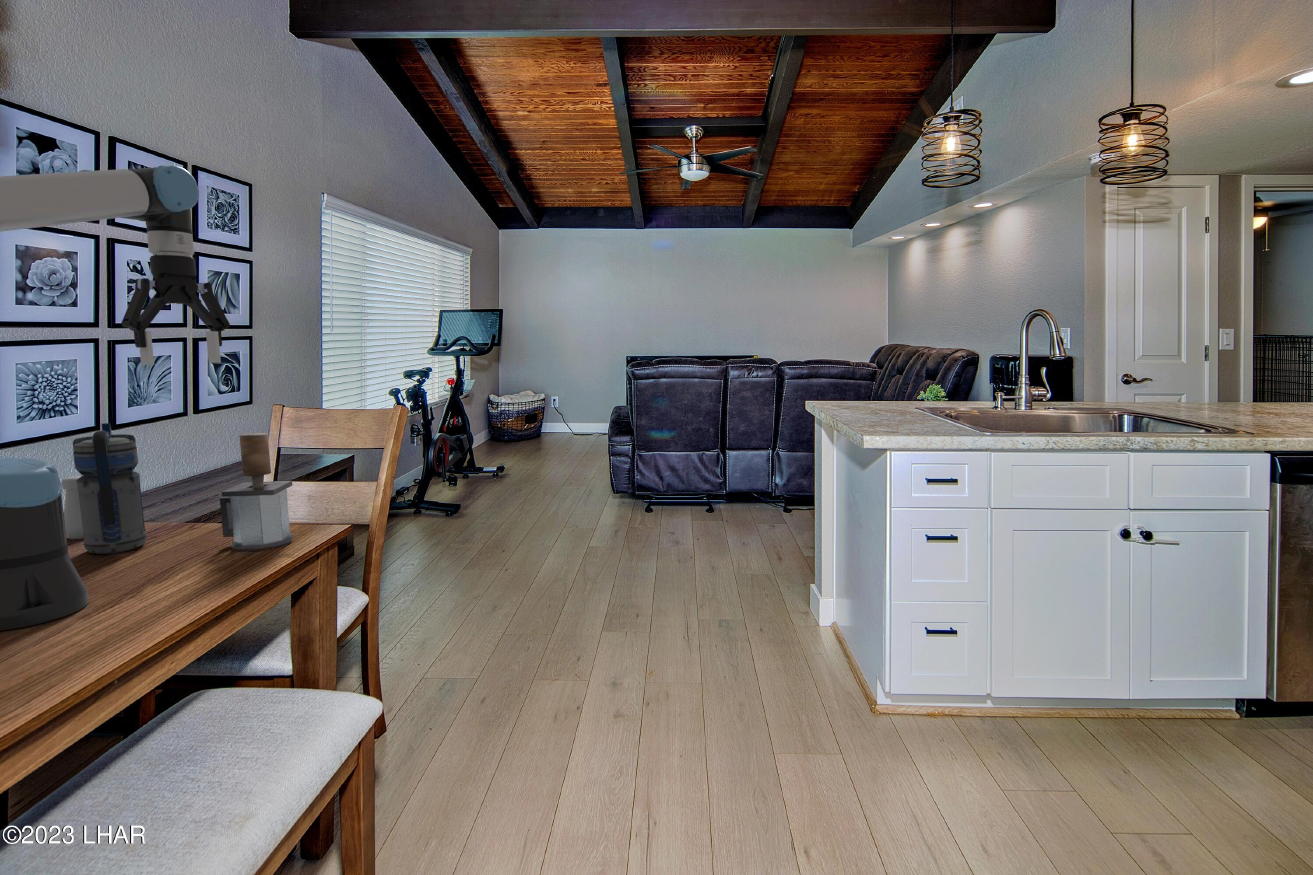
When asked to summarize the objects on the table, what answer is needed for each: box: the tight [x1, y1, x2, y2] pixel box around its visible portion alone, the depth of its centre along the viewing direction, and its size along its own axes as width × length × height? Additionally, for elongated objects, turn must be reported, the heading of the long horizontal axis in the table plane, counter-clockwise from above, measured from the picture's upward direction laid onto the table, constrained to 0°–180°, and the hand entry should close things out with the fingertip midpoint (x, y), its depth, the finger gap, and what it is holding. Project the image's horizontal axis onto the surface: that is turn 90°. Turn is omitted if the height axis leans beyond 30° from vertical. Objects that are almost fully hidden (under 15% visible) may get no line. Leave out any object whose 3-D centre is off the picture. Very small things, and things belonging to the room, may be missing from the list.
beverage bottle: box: [72, 422, 147, 555], centre depth 145 cm, size 10×13×25 cm
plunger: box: [239, 432, 272, 488], centre depth 148 cm, size 5×5×16 cm
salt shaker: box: [61, 475, 84, 540], centre depth 156 cm, size 6×6×13 cm
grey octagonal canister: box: [219, 480, 294, 552], centre depth 149 cm, size 12×11×12 cm
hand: (182, 364), depth 147 cm, fingers open, 13 cm apart
